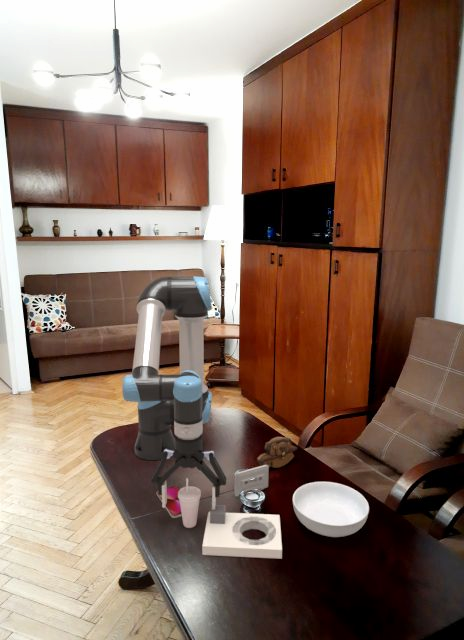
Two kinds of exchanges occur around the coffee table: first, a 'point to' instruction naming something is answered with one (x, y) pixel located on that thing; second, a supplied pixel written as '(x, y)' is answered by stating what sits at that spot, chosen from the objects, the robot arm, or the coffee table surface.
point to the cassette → (257, 483)
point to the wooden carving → (277, 452)
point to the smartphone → (172, 501)
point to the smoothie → (189, 504)
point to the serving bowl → (330, 508)
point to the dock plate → (228, 538)
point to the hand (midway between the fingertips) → (189, 506)
